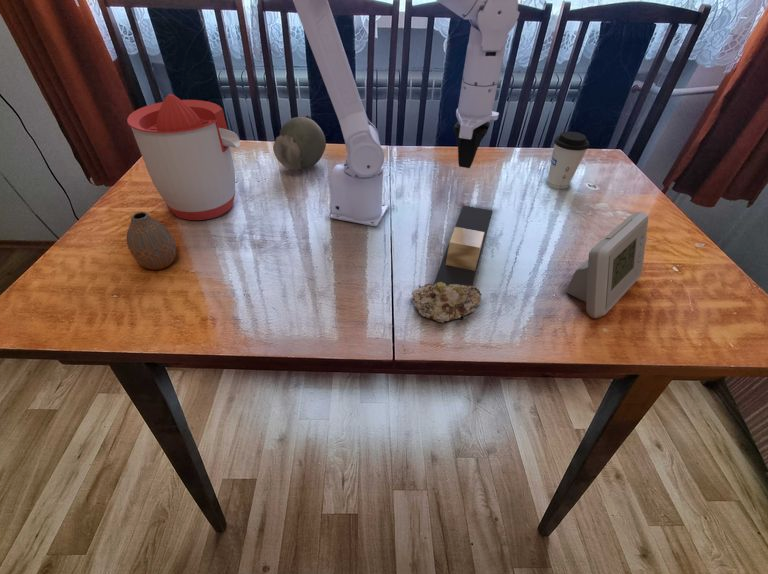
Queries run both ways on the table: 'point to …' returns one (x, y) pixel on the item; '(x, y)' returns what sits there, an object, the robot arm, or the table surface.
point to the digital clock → (611, 266)
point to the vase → (150, 242)
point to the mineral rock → (446, 301)
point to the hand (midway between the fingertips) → (464, 166)
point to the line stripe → (480, 222)
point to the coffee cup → (566, 158)
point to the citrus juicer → (188, 155)
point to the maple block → (464, 248)
